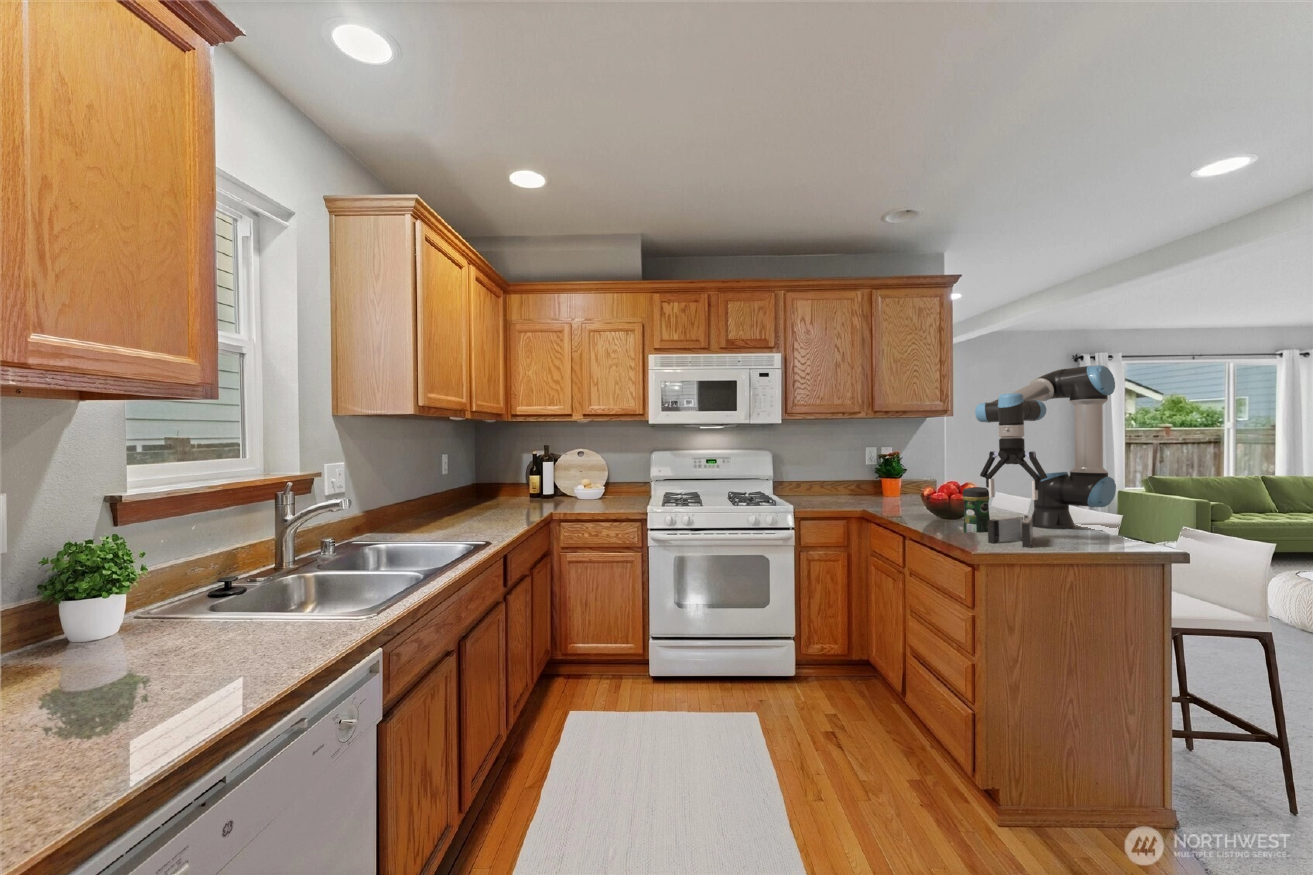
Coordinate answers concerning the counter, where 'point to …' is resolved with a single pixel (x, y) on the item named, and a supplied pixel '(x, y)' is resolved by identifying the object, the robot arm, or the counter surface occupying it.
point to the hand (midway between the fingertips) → (1012, 498)
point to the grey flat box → (1027, 531)
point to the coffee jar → (976, 509)
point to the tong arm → (1005, 529)
